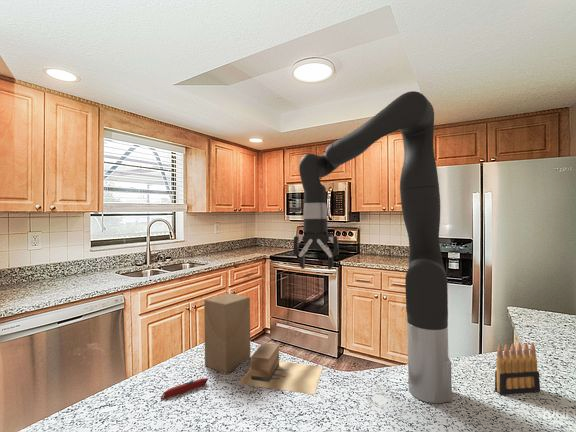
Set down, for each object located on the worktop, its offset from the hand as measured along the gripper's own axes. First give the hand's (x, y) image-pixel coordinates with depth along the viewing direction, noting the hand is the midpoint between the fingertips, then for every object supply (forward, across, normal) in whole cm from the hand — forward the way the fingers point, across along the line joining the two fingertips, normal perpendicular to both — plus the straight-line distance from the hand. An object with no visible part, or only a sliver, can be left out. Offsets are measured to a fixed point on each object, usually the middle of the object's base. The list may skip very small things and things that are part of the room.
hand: (316, 268), depth 94 cm
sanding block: (+27, +12, +15) cm, 33 cm away
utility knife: (+28, +30, +26) cm, 49 cm away
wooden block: (+28, +26, +10) cm, 40 cm away
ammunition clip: (+28, -52, +6) cm, 59 cm away
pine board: (+28, +7, +15) cm, 33 cm away
